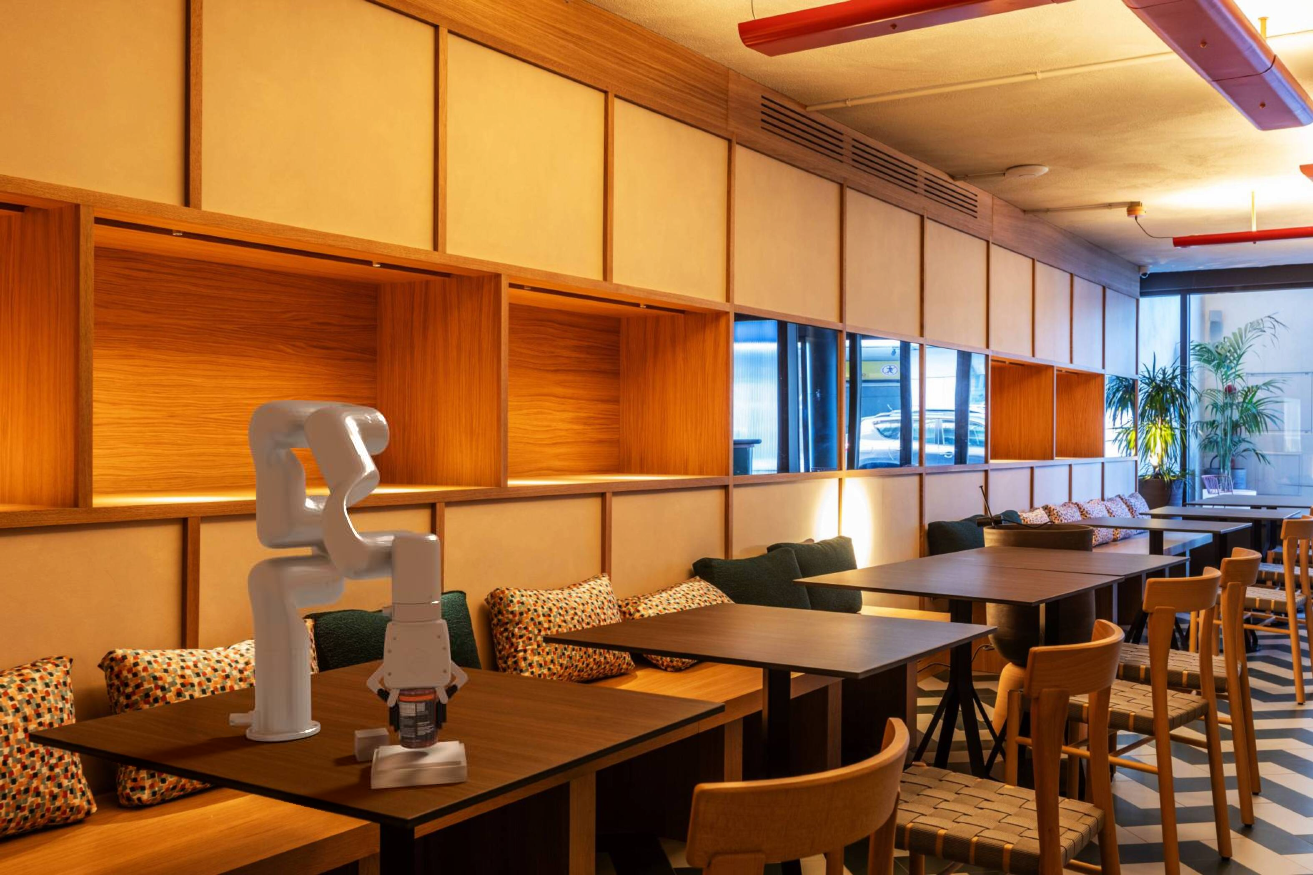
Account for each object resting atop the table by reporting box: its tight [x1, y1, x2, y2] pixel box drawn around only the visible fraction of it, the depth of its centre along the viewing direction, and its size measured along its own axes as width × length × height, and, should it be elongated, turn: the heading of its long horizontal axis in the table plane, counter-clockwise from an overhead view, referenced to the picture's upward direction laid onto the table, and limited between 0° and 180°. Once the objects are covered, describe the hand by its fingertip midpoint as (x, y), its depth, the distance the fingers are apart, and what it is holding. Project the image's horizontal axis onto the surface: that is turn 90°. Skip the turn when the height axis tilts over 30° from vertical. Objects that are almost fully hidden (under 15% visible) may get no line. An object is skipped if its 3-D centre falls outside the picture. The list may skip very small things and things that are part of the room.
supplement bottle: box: [397, 687, 439, 749], centre depth 177 cm, size 6×6×11 cm
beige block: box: [354, 727, 390, 762], centre depth 188 cm, size 5×5×4 cm
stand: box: [370, 740, 468, 790], centre depth 177 cm, size 14×14×3 cm
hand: (418, 727), depth 177 cm, fingers closed on supplement bottle, 6 cm apart
